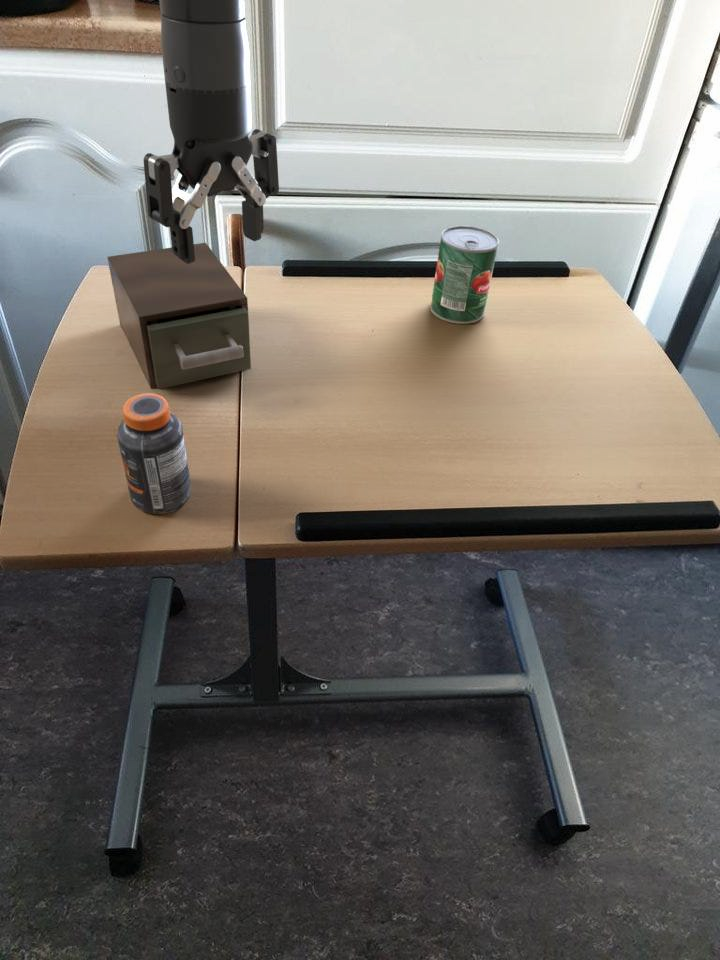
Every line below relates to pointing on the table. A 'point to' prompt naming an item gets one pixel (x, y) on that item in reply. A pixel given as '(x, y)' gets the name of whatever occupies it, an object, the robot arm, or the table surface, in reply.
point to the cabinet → (167, 293)
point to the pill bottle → (153, 455)
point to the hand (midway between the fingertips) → (220, 249)
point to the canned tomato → (463, 274)
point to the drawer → (199, 345)
